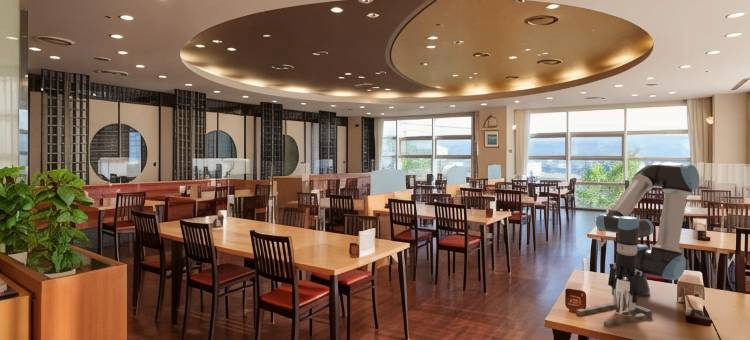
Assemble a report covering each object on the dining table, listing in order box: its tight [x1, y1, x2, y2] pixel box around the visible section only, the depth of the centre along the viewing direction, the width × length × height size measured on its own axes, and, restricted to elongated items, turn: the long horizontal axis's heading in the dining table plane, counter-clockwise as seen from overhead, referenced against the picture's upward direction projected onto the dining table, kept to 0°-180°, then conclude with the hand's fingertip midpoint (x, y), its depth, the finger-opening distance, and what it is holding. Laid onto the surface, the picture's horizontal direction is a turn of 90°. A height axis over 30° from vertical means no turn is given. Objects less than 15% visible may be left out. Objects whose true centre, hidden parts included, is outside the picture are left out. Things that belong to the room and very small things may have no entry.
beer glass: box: [615, 277, 633, 317], centre depth 185 cm, size 7×7×15 cm
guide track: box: [575, 302, 653, 329], centre depth 183 cm, size 26×15×3 cm, turn 114°
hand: (623, 306), depth 185 cm, fingers closed on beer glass, 7 cm apart
